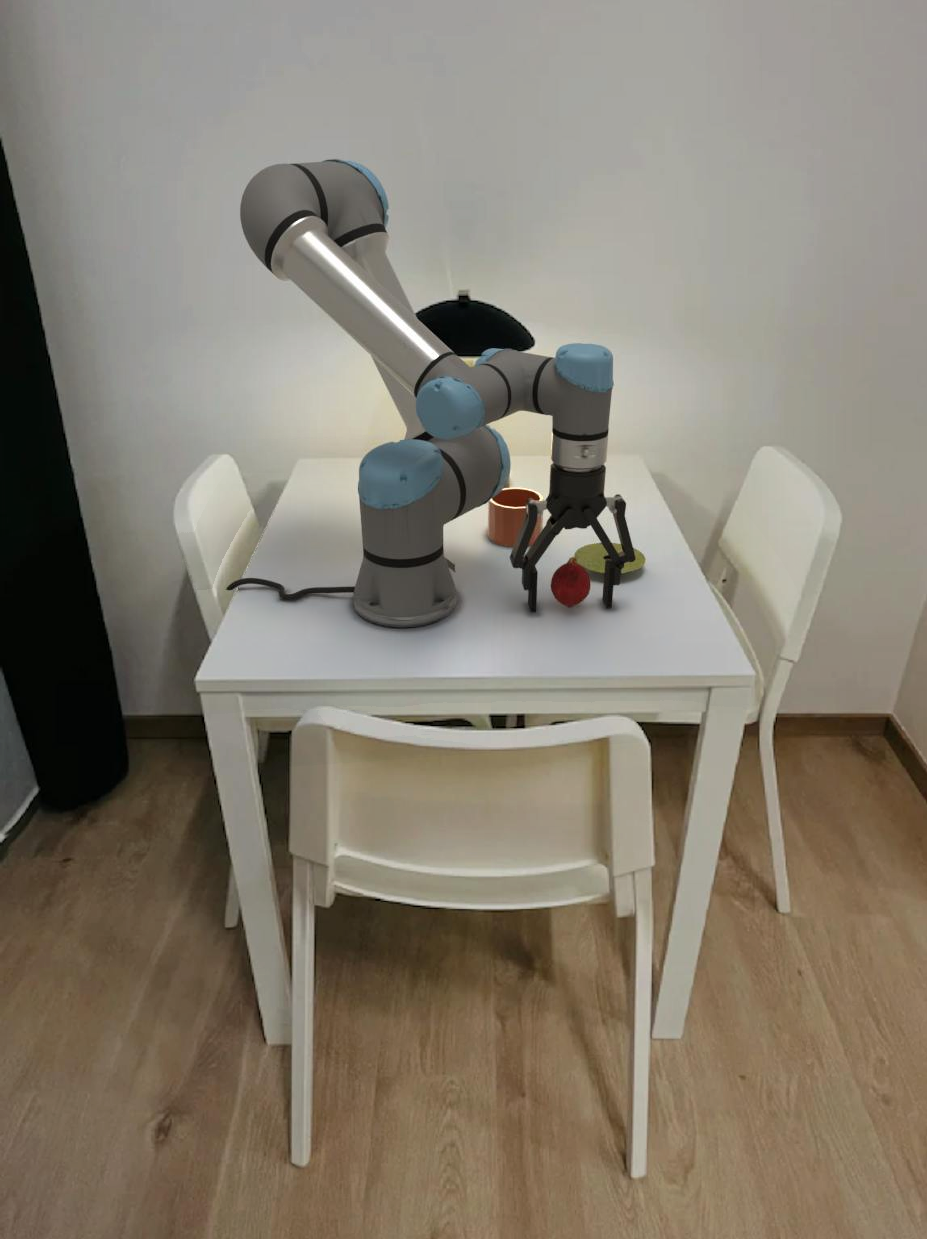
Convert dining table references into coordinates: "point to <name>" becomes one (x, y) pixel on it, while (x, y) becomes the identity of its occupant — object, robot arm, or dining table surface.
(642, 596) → the dining table surface
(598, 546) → the mat
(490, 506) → the flower pot
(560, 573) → the onion
